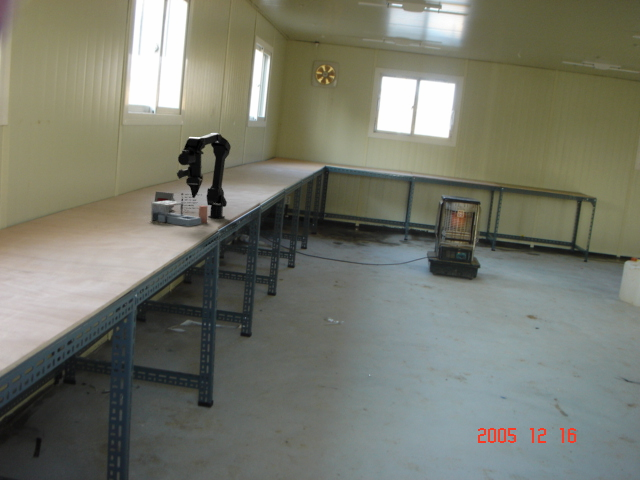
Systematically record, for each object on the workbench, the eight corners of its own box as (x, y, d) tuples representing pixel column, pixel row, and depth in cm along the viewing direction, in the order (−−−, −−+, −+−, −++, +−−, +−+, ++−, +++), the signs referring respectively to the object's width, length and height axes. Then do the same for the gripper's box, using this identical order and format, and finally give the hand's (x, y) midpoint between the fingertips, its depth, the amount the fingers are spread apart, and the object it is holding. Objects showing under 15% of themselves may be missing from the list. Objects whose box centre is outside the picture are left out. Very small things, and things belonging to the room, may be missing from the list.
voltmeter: (154, 211, 308) (155, 193, 307) (152, 208, 319) (152, 190, 317) (204, 212, 319) (205, 194, 317) (200, 209, 329) (201, 191, 327)
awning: (168, 217, 294) (168, 200, 292) (183, 220, 290) (183, 202, 288) (150, 220, 283) (151, 202, 281) (166, 223, 279) (166, 204, 277)
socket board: (171, 218, 291) (171, 212, 291) (201, 223, 284) (201, 217, 283) (158, 221, 282) (158, 215, 282) (187, 226, 275) (188, 220, 274)
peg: (201, 221, 291) (202, 205, 289) (208, 222, 289) (209, 206, 288) (196, 222, 287) (197, 206, 286) (203, 223, 286) (204, 207, 284)
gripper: (180, 161, 287) (180, 192, 290) (175, 165, 269) (175, 198, 272) (203, 162, 288) (202, 193, 292) (199, 166, 270) (199, 199, 274)
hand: (194, 196), depth 282 cm, fingers open, 9 cm apart
